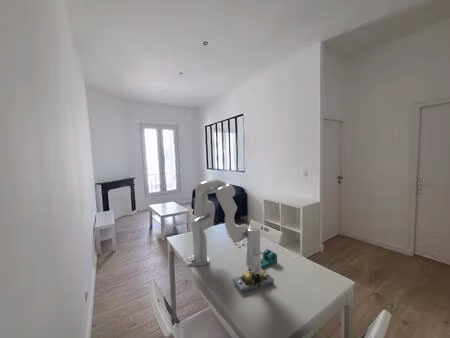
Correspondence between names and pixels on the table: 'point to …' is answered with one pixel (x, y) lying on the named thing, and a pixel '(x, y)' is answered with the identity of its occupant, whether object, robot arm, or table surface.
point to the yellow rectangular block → (252, 277)
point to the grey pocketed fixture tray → (244, 289)
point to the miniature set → (240, 242)
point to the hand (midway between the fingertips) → (254, 278)
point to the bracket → (268, 258)
